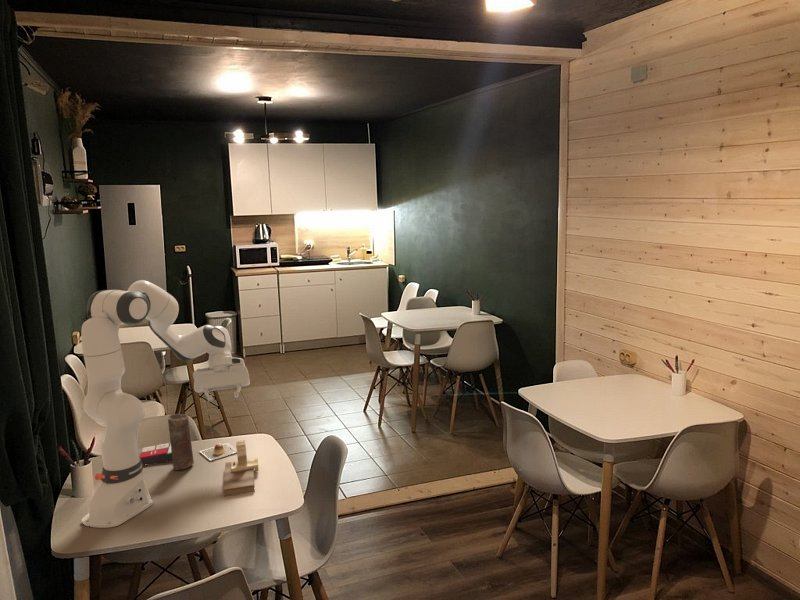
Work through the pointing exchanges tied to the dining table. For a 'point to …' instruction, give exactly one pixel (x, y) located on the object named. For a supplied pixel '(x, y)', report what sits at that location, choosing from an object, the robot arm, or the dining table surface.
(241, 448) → the stacked wooden blocks
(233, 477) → the board
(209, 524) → the dining table surface
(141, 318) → the robot arm
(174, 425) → the candle
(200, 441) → the dining table surface
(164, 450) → the red and white box
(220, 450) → the dessert
